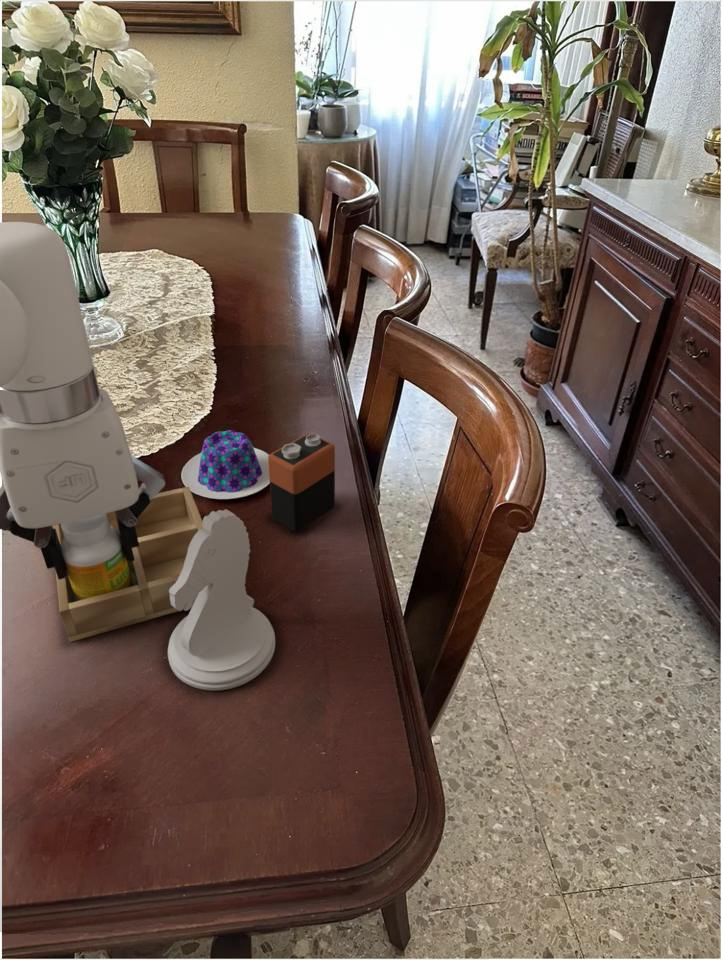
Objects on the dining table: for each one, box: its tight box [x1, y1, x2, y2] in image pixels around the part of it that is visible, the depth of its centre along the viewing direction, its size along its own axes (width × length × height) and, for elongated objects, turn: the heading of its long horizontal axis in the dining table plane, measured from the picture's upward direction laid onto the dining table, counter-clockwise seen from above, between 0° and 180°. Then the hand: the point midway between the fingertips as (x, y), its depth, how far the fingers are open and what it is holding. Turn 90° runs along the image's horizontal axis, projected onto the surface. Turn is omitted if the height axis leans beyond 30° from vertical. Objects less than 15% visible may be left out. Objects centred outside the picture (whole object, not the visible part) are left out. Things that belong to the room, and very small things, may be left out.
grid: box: [52, 486, 203, 643], centre depth 69 cm, size 15×15×4 cm
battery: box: [268, 432, 336, 533], centre depth 76 cm, size 4×7×10 cm, turn 140°
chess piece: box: [167, 508, 276, 691], centre depth 57 cm, size 10×10×15 cm
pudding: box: [180, 429, 270, 500], centre depth 83 cm, size 12×12×5 cm
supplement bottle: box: [60, 514, 133, 601], centre depth 63 cm, size 5×5×10 cm
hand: (95, 559), depth 63 cm, fingers closed on supplement bottle, 5 cm apart
